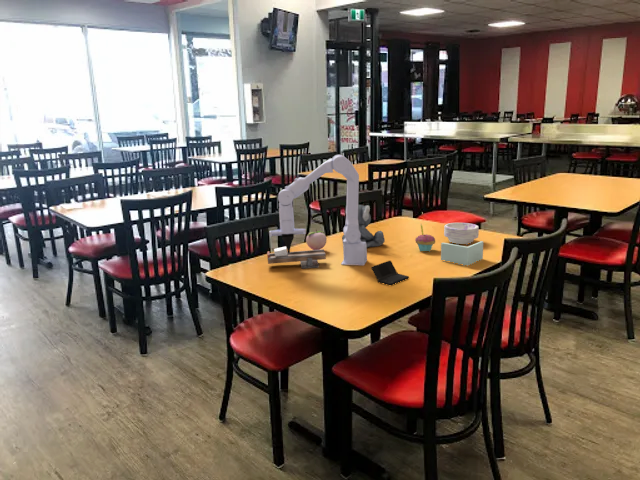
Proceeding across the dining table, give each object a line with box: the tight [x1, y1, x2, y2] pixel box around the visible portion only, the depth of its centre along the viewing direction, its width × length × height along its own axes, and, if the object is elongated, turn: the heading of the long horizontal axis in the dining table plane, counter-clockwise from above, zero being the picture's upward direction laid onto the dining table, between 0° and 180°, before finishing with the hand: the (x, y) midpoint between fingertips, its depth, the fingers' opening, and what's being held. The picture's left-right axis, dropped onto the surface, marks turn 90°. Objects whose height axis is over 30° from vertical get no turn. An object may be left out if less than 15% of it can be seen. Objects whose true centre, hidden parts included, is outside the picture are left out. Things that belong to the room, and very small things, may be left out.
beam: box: [266, 248, 327, 265], centre depth 210 cm, size 23×7×4 cm, turn 95°
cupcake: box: [414, 224, 436, 252], centre depth 223 cm, size 9×8×12 cm
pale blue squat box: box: [440, 240, 484, 267], centre depth 208 cm, size 12×12×8 cm
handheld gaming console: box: [370, 260, 410, 286], centre depth 189 cm, size 12×7×10 cm
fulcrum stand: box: [299, 258, 320, 270], centre depth 211 cm, size 7×10×4 cm
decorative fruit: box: [305, 229, 328, 250], centre depth 229 cm, size 9×8×10 cm
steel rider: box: [273, 245, 288, 257], centre depth 209 cm, size 5×4×3 cm
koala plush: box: [341, 204, 385, 248], centre depth 236 cm, size 17×18×20 cm
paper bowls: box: [443, 222, 480, 245], centre depth 235 cm, size 15×15×8 cm
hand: (288, 252), depth 209 cm, fingers closed
